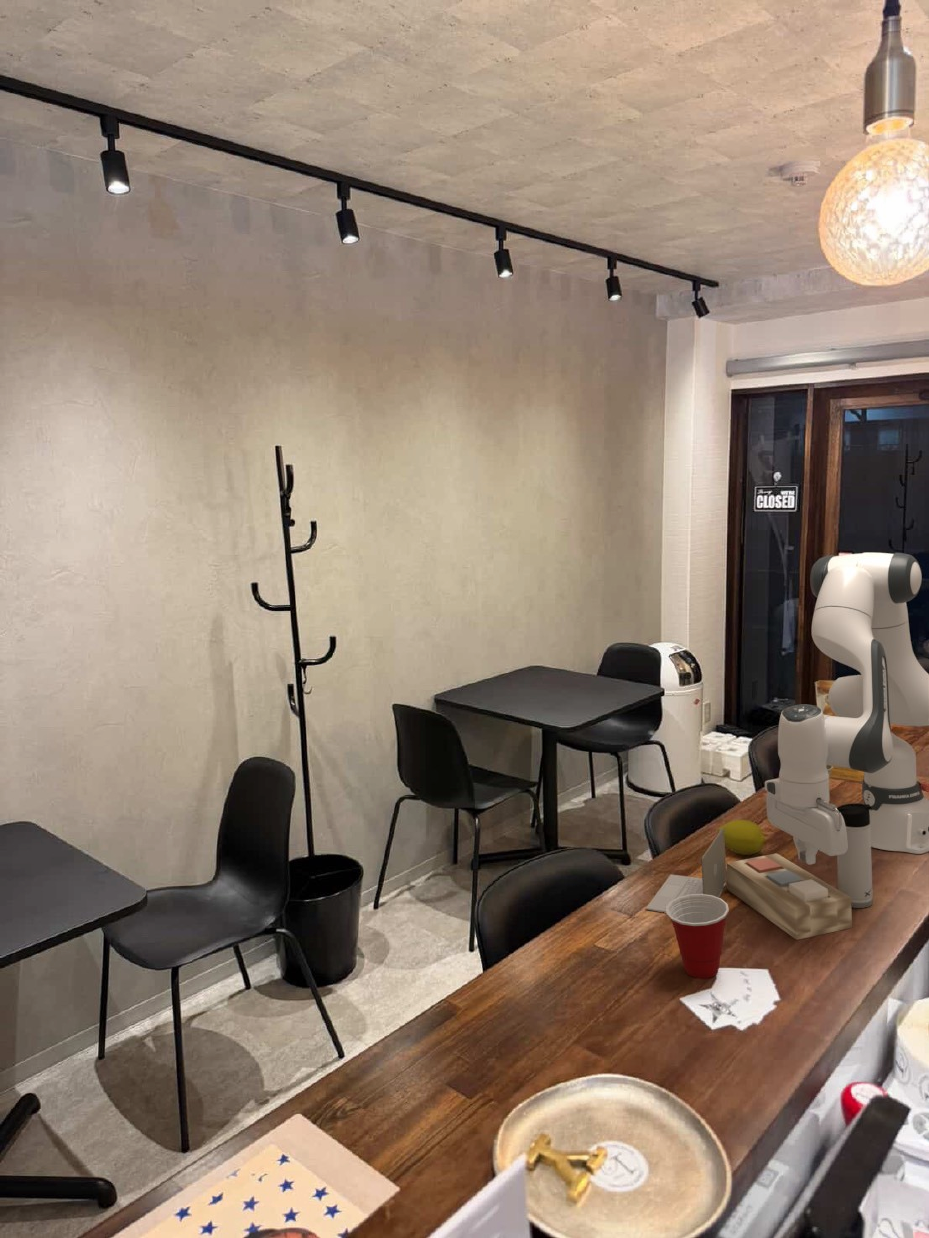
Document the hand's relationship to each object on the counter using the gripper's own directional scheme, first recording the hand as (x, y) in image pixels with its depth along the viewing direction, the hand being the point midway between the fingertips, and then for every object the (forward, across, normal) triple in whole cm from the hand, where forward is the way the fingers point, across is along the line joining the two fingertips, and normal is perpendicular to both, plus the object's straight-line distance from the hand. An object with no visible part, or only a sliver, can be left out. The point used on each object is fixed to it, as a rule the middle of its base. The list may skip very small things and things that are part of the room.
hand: (806, 861), depth 169 cm
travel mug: (+13, +4, -14) cm, 19 cm away
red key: (+9, +15, 0) cm, 18 cm away
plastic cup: (+13, -7, +27) cm, 31 cm away
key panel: (+12, +8, 0) cm, 15 cm away
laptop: (+13, +20, +15) cm, 28 cm away
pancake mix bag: (+12, +71, -64) cm, 96 cm away
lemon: (+13, +36, -8) cm, 39 cm away
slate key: (+9, +8, 0) cm, 12 cm away
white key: (+8, 0, 0) cm, 8 cm away
